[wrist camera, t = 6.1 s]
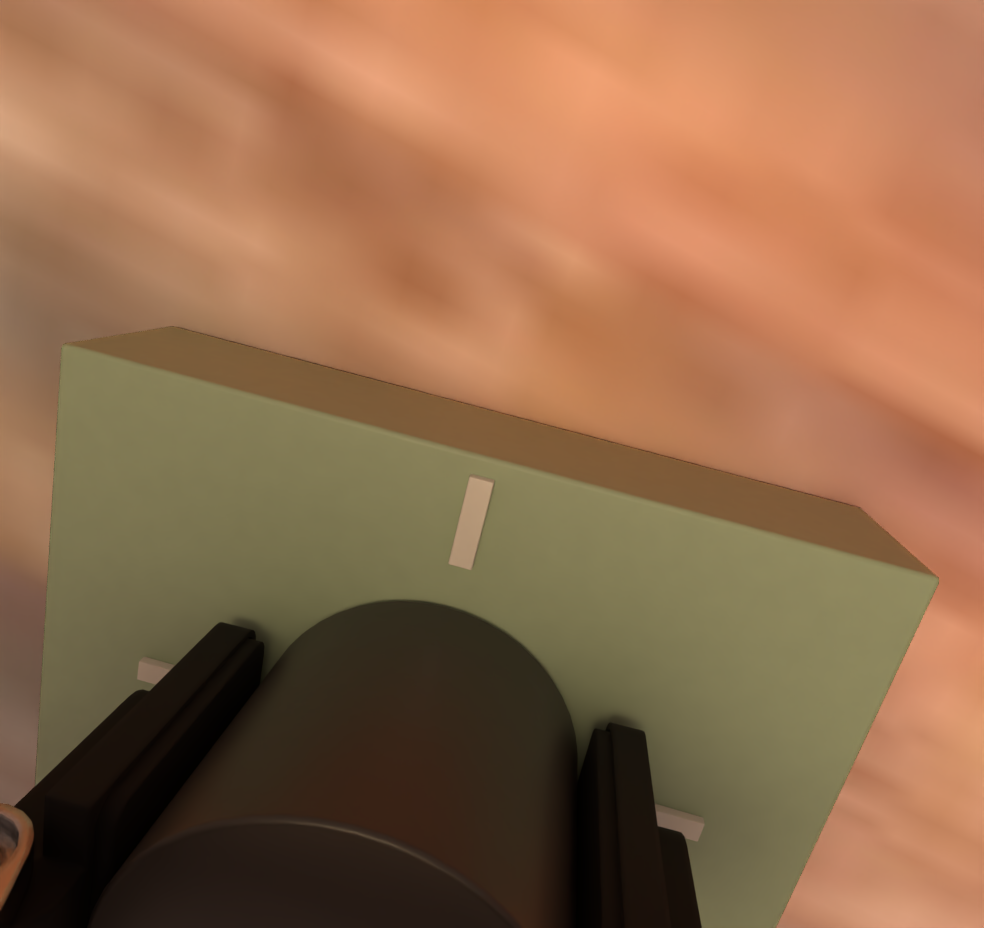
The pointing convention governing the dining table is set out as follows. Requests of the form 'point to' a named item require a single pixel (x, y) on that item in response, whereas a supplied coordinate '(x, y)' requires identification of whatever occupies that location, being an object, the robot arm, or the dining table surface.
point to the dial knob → (373, 791)
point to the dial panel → (477, 576)
